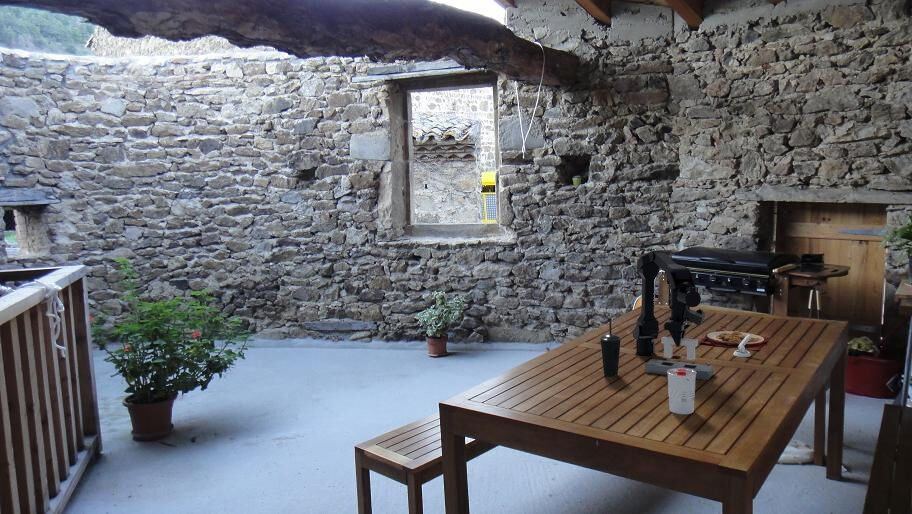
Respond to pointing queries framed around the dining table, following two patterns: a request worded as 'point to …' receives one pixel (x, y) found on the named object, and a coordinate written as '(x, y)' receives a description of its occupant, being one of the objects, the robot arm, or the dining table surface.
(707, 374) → the rail
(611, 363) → the drinking cup
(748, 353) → the hook
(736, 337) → the plate with food
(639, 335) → the robot arm
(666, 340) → the clip
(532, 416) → the dining table surface
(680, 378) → the white cylindrical container
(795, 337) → the dining table surface
